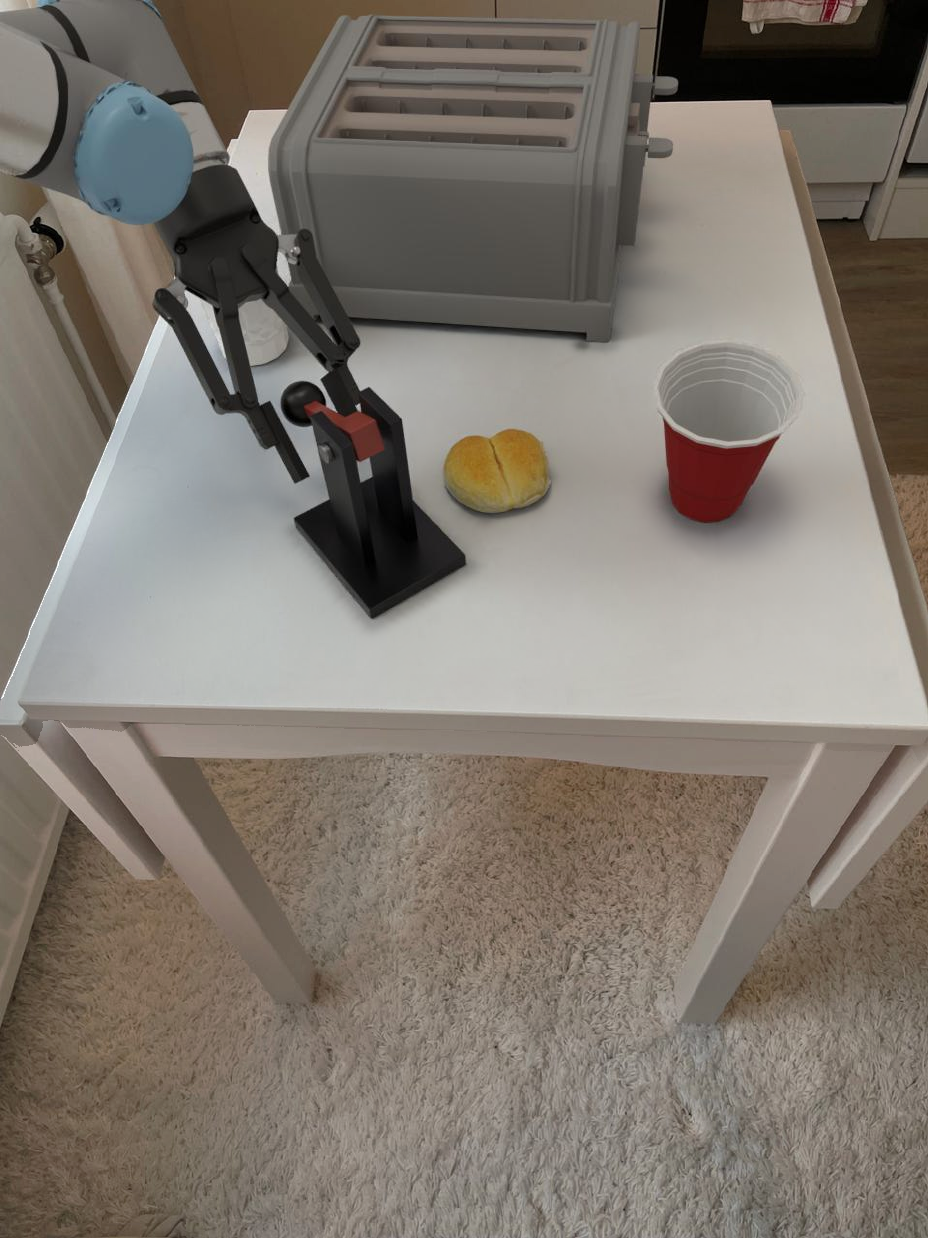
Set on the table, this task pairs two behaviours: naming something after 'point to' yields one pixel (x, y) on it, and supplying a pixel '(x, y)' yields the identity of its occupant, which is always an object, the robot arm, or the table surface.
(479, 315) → the toaster
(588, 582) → the table surface
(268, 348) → the white cup
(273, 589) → the table surface
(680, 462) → the plastic cup
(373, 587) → the bracket
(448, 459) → the bread roll
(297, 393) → the lever
